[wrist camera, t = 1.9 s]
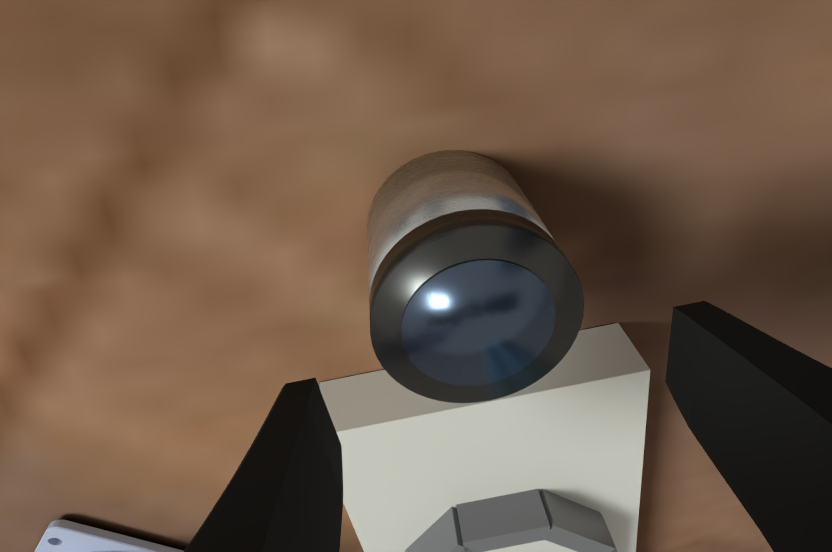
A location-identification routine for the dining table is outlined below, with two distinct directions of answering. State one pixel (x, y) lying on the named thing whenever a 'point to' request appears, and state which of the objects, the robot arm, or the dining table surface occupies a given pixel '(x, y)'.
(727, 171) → the dining table surface
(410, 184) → the lens
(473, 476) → the camera body
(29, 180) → the dining table surface
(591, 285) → the dining table surface
